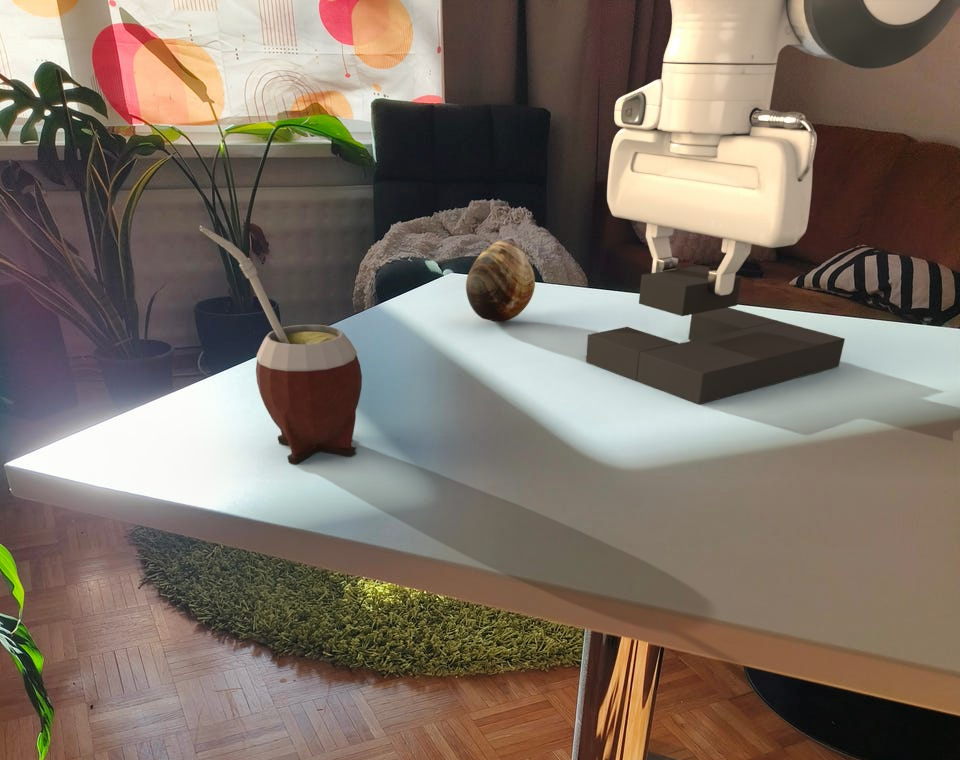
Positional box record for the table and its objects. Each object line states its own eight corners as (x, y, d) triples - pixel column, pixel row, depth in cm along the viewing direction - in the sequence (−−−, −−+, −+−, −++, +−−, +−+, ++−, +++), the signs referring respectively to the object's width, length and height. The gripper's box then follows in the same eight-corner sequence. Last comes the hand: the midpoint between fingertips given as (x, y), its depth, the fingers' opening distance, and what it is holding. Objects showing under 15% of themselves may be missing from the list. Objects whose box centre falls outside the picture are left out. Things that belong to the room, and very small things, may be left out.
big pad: (721, 332, 90) (725, 306, 88) (839, 366, 80) (845, 338, 79) (585, 362, 81) (587, 334, 80) (699, 404, 72) (703, 373, 70)
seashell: (504, 308, 98) (505, 229, 93) (548, 316, 95) (551, 235, 90) (450, 326, 91) (449, 242, 87) (496, 336, 89) (497, 249, 84)
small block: (692, 294, 84) (696, 265, 83) (737, 305, 80) (742, 276, 79) (638, 303, 81) (641, 274, 79) (682, 316, 77) (686, 286, 76)
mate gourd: (383, 439, 65) (369, 215, 57) (325, 478, 59) (300, 234, 51) (298, 424, 68) (272, 207, 59) (234, 460, 62) (195, 225, 54)
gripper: (847, 112, 67) (808, 304, 74) (654, 99, 80) (638, 262, 88) (792, 114, 64) (757, 315, 71) (601, 101, 77) (589, 270, 85)
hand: (690, 285), depth 80 cm, fingers closed on small block, 5 cm apart
